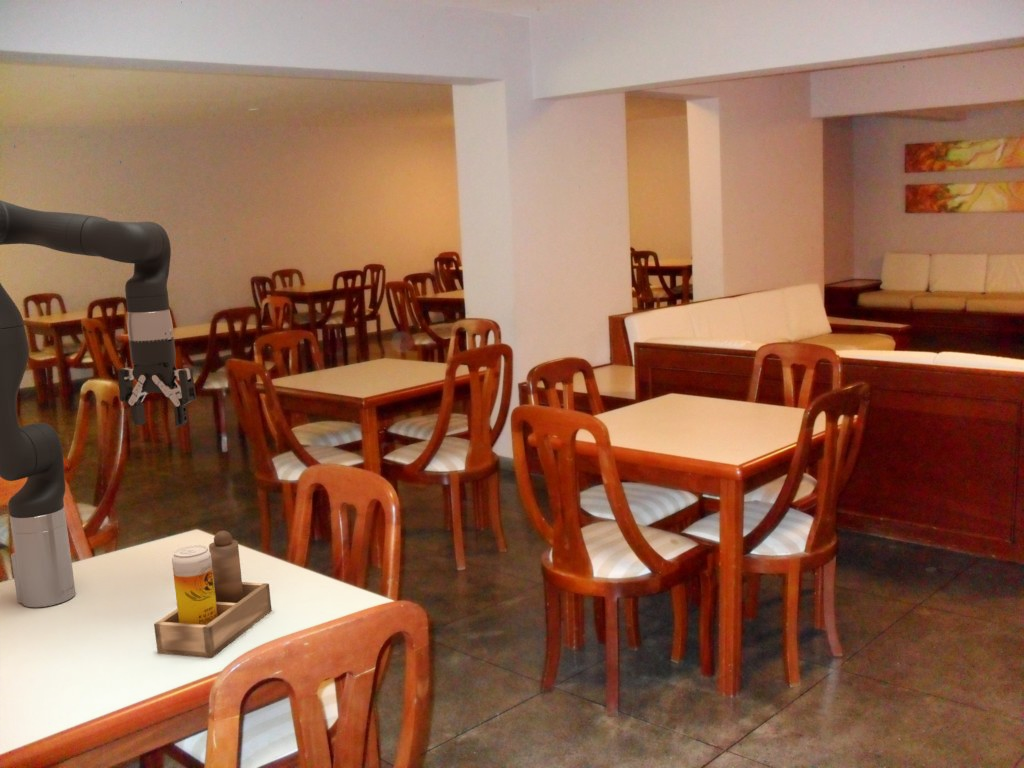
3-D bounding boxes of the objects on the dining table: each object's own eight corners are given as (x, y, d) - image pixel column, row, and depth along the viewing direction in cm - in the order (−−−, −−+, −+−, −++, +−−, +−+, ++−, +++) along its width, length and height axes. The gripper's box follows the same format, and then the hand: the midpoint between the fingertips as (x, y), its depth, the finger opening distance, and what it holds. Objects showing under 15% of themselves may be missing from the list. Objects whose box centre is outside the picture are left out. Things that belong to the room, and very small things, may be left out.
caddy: (157, 653, 161) (146, 558, 158) (221, 607, 179) (212, 521, 176) (211, 657, 158) (201, 561, 155) (271, 610, 176) (263, 523, 173)
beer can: (208, 646, 160) (198, 557, 158) (174, 644, 162) (163, 556, 159) (226, 630, 166) (217, 544, 164) (193, 629, 167) (183, 543, 165)
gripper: (103, 339, 174) (113, 429, 177) (173, 339, 170) (182, 431, 173) (130, 333, 181) (140, 420, 184) (198, 333, 177) (207, 421, 180)
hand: (160, 425), depth 179 cm, fingers open, 8 cm apart
